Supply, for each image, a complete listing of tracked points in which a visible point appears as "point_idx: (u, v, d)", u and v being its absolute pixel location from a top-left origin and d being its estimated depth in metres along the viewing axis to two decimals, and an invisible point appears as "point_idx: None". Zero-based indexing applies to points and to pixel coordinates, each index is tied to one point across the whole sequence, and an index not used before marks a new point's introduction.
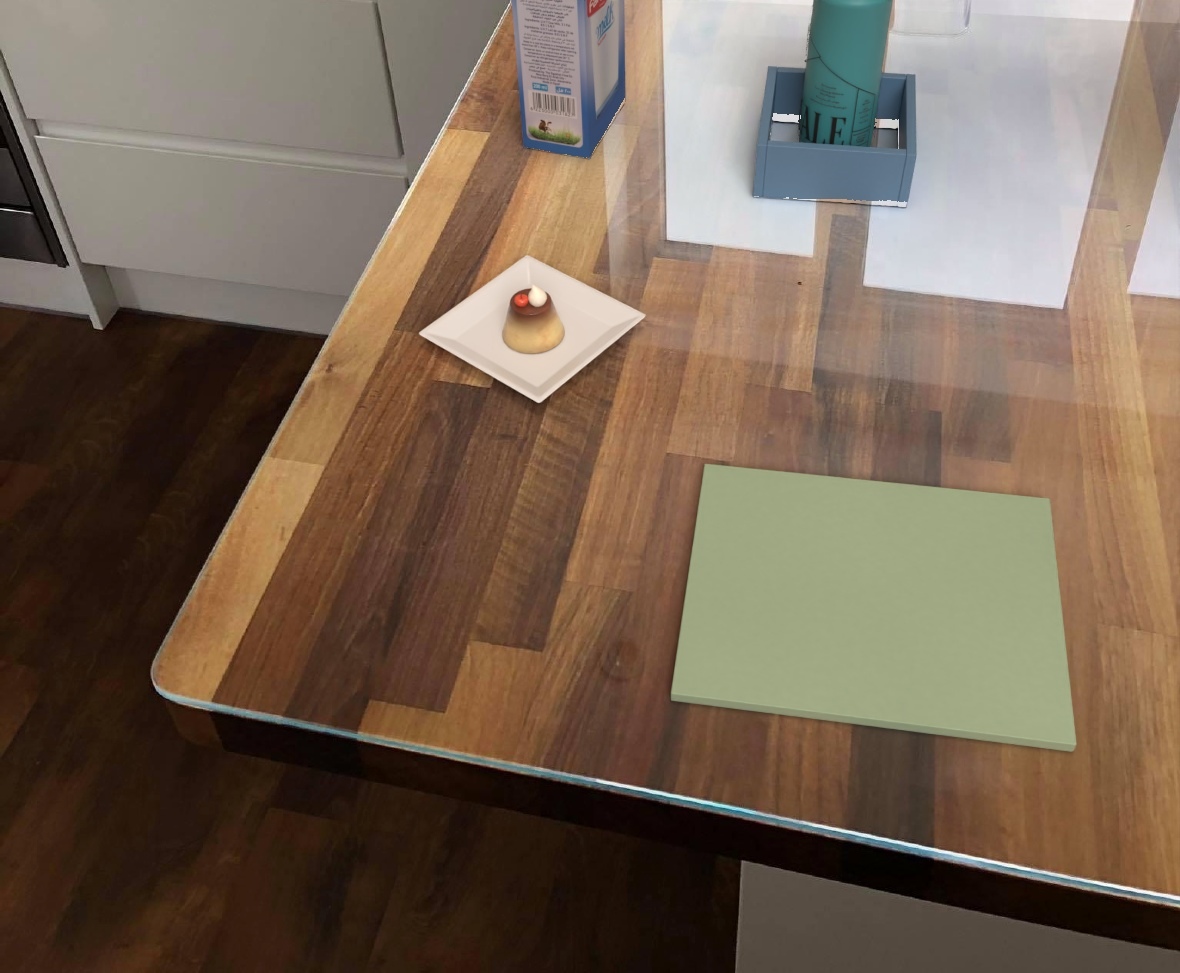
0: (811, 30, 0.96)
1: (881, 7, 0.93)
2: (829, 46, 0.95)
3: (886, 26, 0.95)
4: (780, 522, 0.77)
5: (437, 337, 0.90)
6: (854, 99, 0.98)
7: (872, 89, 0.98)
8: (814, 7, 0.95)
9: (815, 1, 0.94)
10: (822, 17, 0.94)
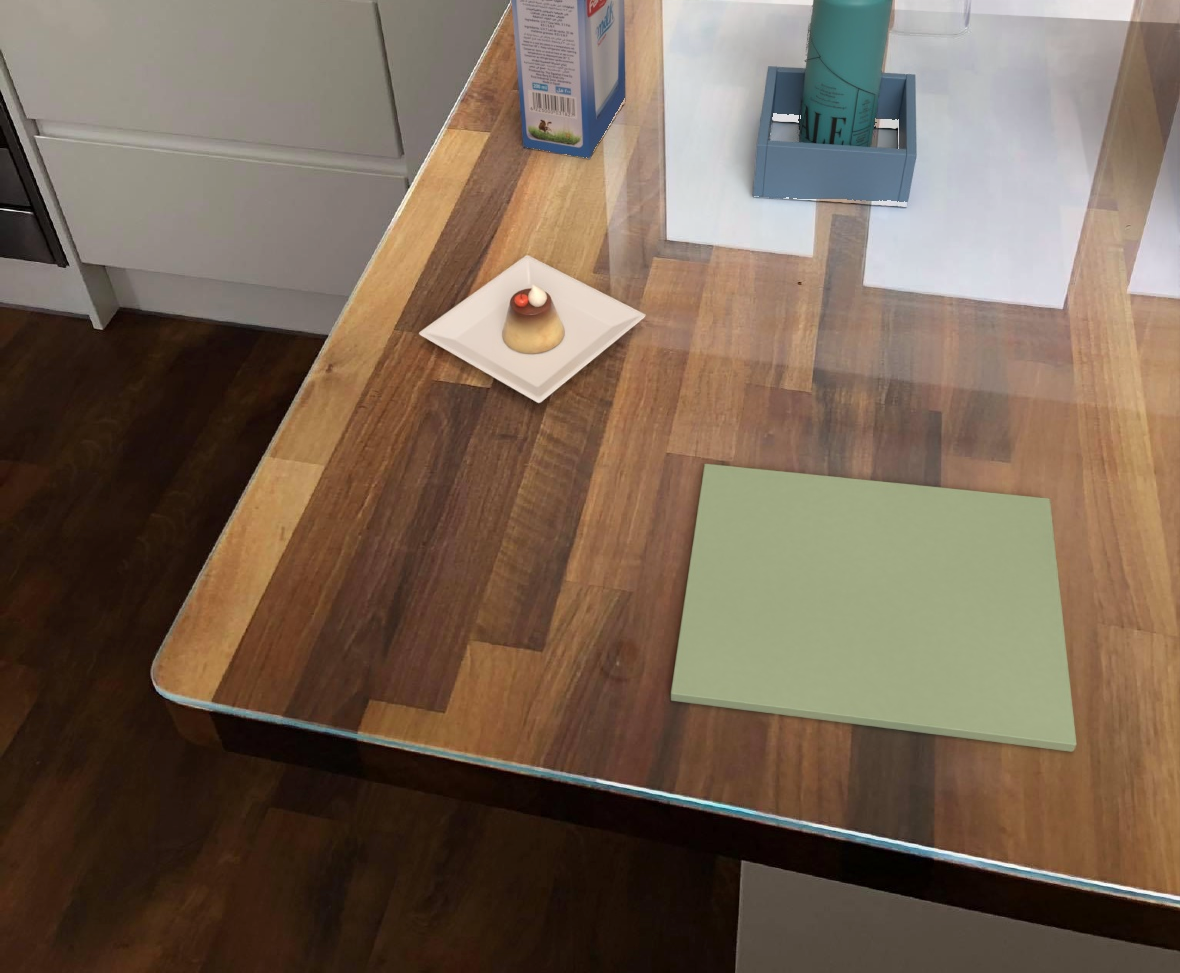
0: (811, 30, 0.96)
1: (881, 7, 0.93)
2: (829, 46, 0.95)
3: (886, 26, 0.95)
4: (780, 522, 0.77)
5: (437, 337, 0.90)
6: (854, 99, 0.98)
7: (872, 89, 0.98)
8: (814, 7, 0.95)
9: (815, 1, 0.94)
10: (822, 17, 0.94)
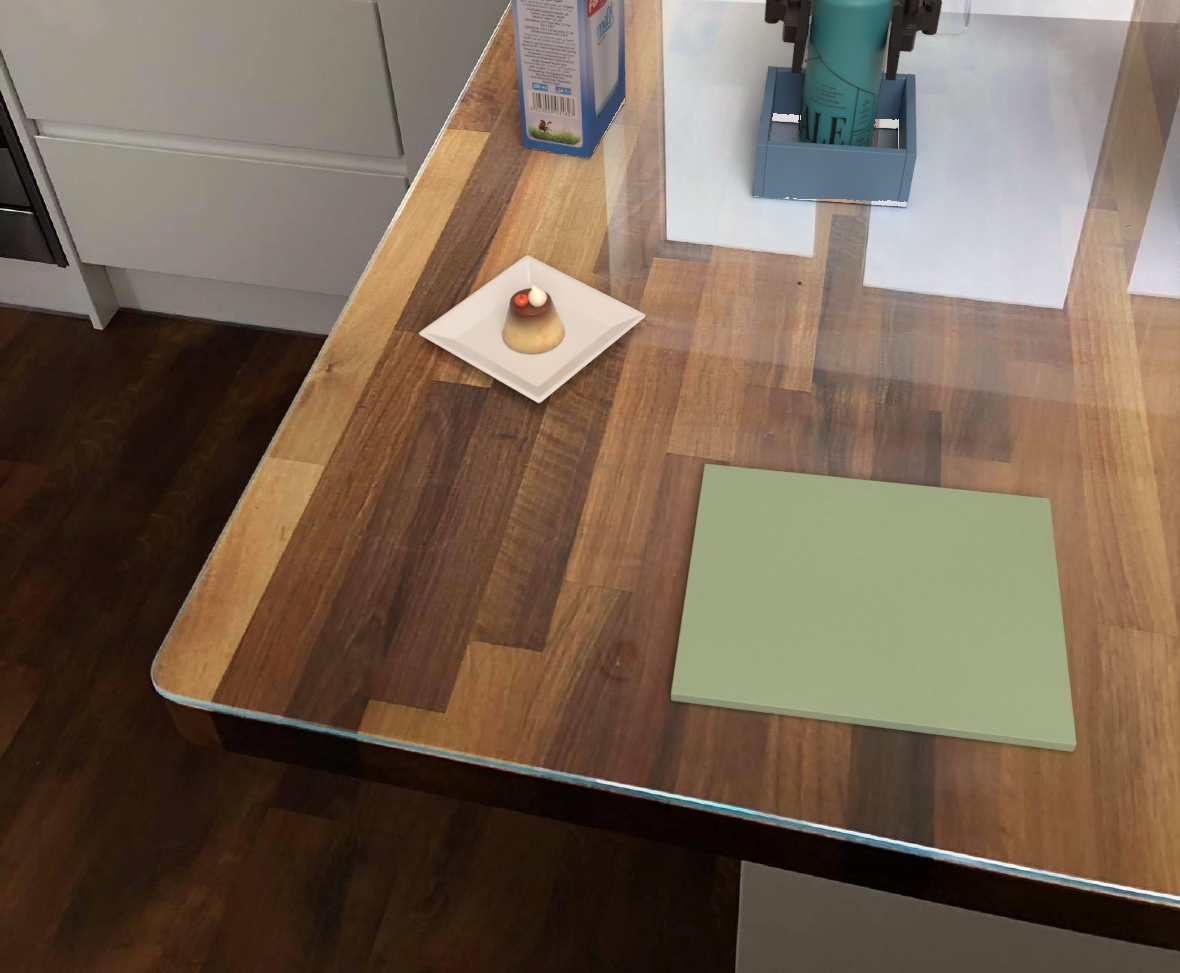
0: (811, 30, 0.96)
1: (881, 7, 0.93)
2: (830, 46, 0.95)
3: (886, 26, 0.95)
4: (780, 522, 0.77)
5: (437, 337, 0.90)
6: (854, 99, 0.98)
7: (872, 89, 0.98)
8: (814, 7, 0.95)
9: (815, 1, 0.94)
10: (822, 17, 0.94)
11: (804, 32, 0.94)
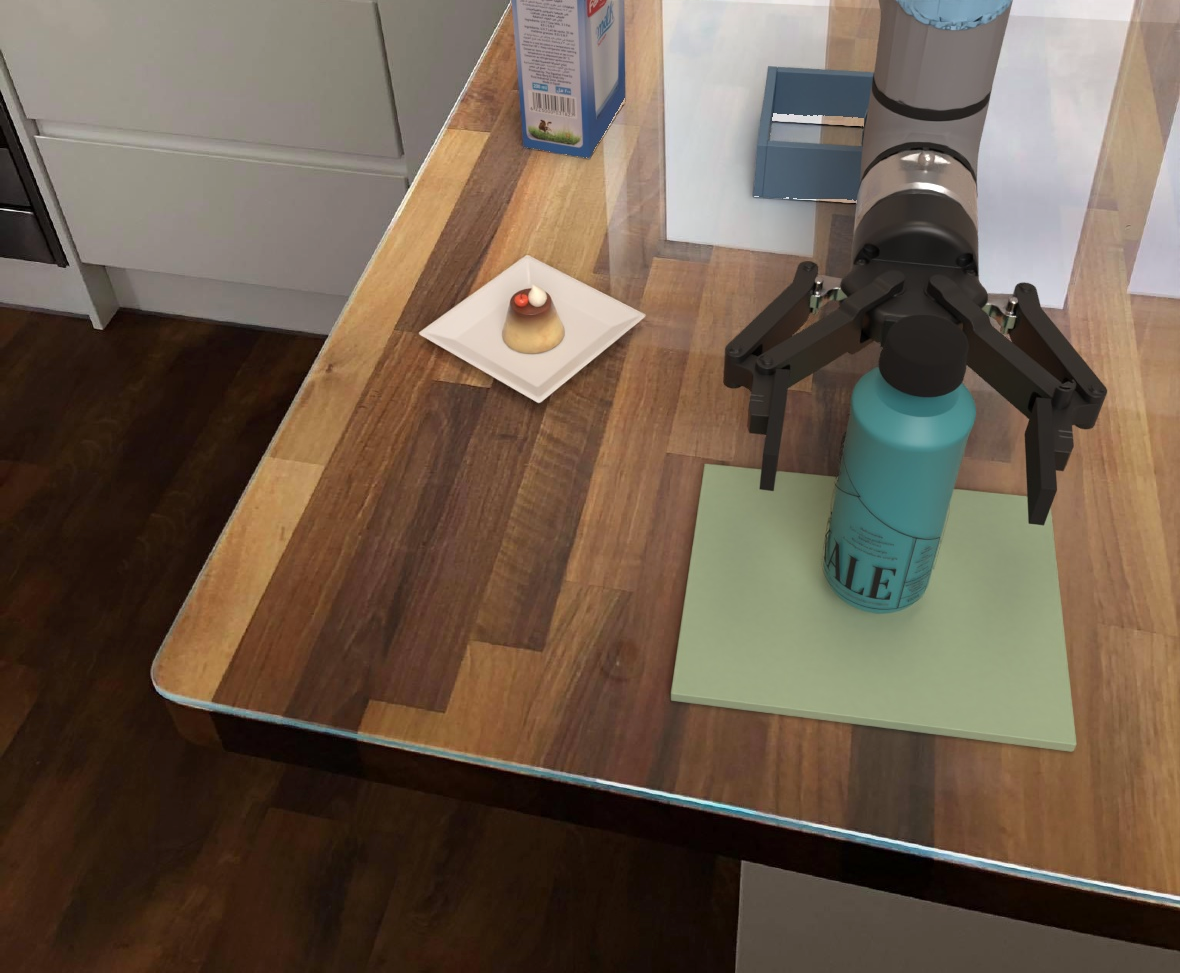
0: (846, 454, 0.64)
1: (955, 446, 0.60)
2: (874, 488, 0.63)
3: (960, 460, 0.63)
4: (780, 522, 0.77)
5: (437, 337, 0.90)
6: (909, 548, 0.66)
7: (936, 532, 0.66)
8: (851, 430, 0.63)
9: (853, 424, 0.62)
10: (864, 450, 0.62)
11: (778, 437, 0.63)
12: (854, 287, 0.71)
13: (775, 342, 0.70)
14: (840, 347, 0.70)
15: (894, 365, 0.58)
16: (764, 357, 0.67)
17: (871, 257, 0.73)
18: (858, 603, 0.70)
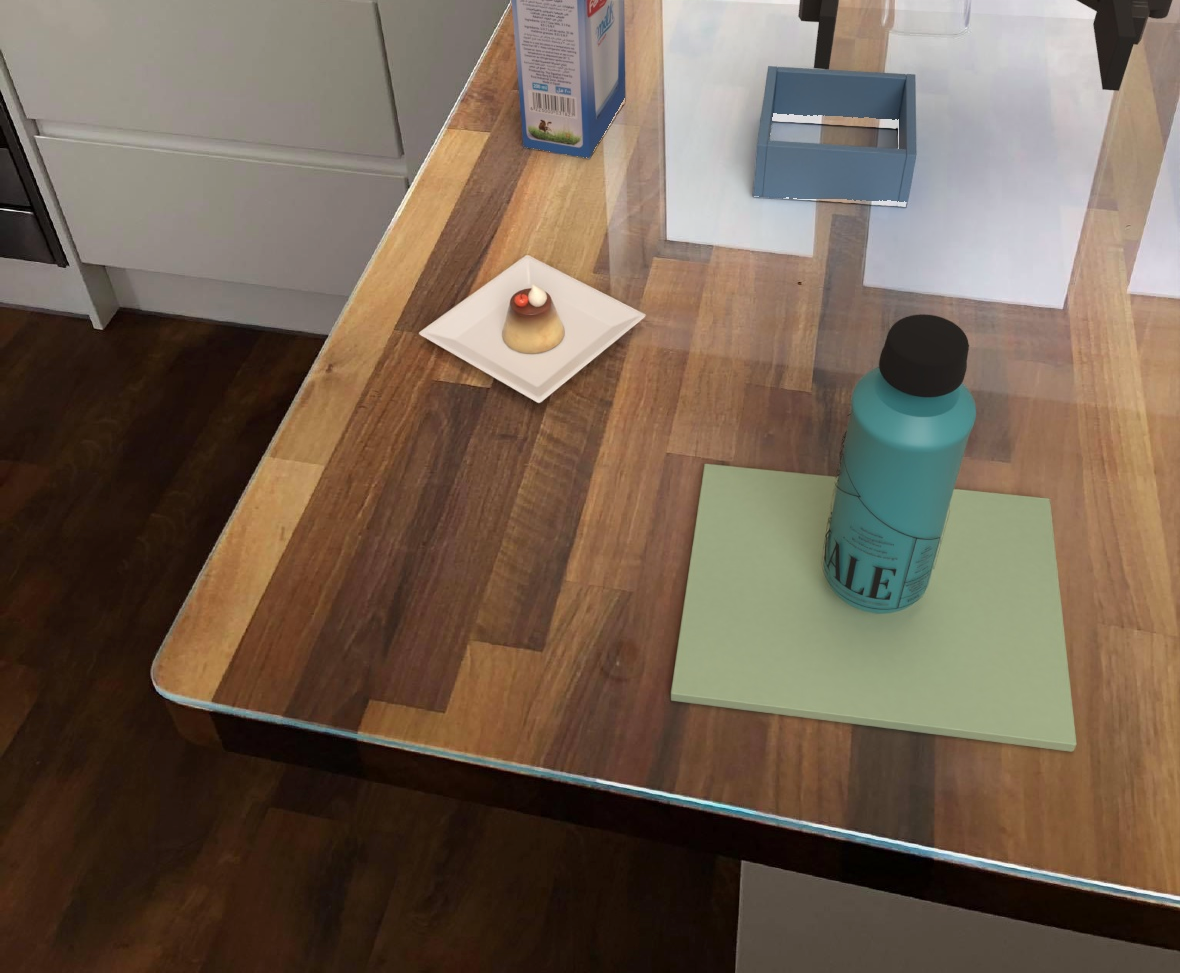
0: (846, 454, 0.64)
1: (955, 446, 0.60)
2: (874, 488, 0.63)
3: (960, 460, 0.63)
4: (780, 522, 0.77)
5: (437, 337, 0.90)
6: (909, 548, 0.66)
7: (936, 532, 0.66)
8: (851, 430, 0.63)
9: (853, 424, 0.62)
10: (864, 450, 0.62)
11: (835, 3, 0.59)
12: None
13: None
14: None
15: (894, 365, 0.58)
16: None
17: None
18: (858, 603, 0.70)
